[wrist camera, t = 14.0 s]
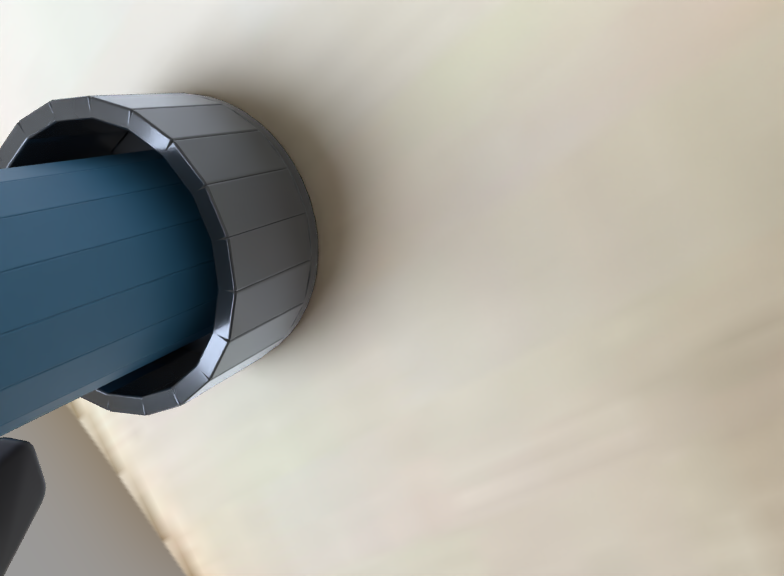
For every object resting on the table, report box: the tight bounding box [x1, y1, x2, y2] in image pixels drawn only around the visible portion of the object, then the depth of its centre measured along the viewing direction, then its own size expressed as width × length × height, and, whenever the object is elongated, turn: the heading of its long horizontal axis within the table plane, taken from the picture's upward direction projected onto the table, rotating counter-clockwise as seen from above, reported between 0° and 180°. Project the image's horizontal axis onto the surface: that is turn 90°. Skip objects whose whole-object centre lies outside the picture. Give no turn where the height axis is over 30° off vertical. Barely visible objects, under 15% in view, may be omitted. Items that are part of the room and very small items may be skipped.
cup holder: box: [0, 93, 318, 415], centre depth 23 cm, size 9×9×4 cm
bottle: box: [0, 150, 218, 436], centre depth 18 cm, size 6×6×14 cm
